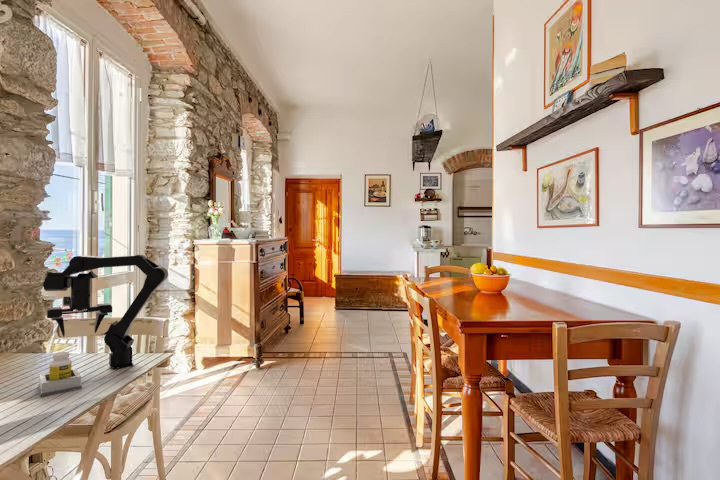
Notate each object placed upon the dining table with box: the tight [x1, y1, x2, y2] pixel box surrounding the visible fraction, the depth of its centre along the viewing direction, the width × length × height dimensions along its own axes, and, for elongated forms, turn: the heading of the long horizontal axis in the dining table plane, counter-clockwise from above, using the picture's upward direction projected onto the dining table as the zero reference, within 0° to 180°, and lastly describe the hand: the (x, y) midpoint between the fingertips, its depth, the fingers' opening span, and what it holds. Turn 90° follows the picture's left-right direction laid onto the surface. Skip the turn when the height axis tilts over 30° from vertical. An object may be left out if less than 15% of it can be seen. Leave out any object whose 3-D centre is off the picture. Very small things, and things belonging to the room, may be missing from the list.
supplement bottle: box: [48, 351, 72, 381], centre depth 120 cm, size 5×5×10 cm
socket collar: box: [37, 368, 83, 398], centre depth 120 cm, size 10×10×4 cm
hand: (79, 334), depth 138 cm, fingers open, 9 cm apart
